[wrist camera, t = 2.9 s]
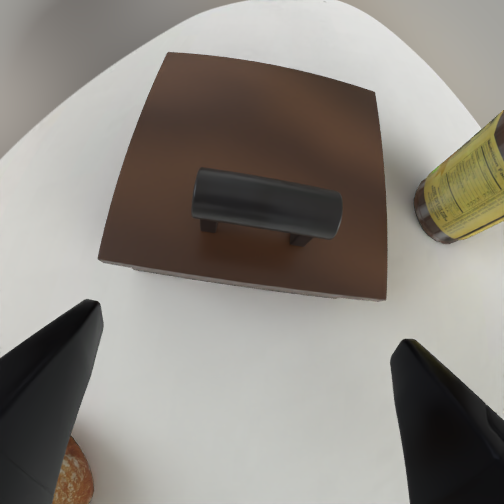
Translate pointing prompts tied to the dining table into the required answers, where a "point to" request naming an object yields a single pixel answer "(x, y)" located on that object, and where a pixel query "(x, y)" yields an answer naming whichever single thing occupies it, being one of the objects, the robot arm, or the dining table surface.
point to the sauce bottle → (465, 188)
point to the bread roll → (74, 478)
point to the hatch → (254, 181)
